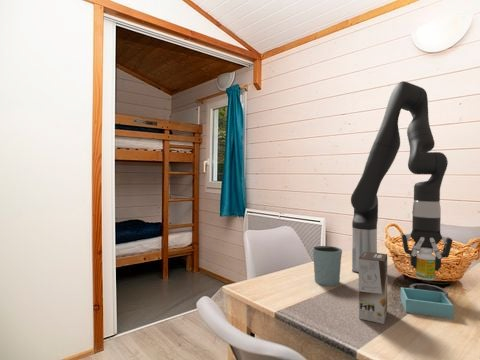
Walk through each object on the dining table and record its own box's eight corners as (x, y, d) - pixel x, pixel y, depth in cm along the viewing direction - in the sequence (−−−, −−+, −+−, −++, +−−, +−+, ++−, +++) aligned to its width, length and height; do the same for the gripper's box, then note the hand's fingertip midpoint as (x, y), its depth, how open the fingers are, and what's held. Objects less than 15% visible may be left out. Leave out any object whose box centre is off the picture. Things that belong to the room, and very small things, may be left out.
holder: (413, 299, 91) (413, 292, 91) (407, 287, 101) (407, 282, 101) (451, 304, 87) (451, 297, 87) (442, 291, 97) (442, 285, 97)
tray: (405, 312, 82) (405, 299, 82) (400, 298, 92) (400, 287, 92) (453, 318, 78) (453, 305, 78) (442, 304, 88) (442, 292, 88)
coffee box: (385, 324, 75) (385, 261, 75) (358, 318, 78) (358, 258, 78) (387, 311, 83) (387, 253, 83) (363, 306, 86) (363, 250, 86)
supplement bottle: (428, 281, 90) (428, 250, 90) (411, 276, 95) (411, 246, 95) (439, 279, 93) (439, 248, 93) (422, 274, 98) (422, 244, 98)
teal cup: (310, 284, 104) (310, 250, 104) (314, 275, 114) (314, 244, 114) (341, 288, 101) (341, 252, 101) (342, 279, 110) (342, 246, 110)
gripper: (401, 215, 93) (401, 268, 93) (457, 218, 88) (455, 275, 88) (399, 212, 100) (398, 262, 100) (450, 215, 95) (449, 268, 95)
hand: (425, 268), depth 94 cm, fingers closed on supplement bottle, 5 cm apart
